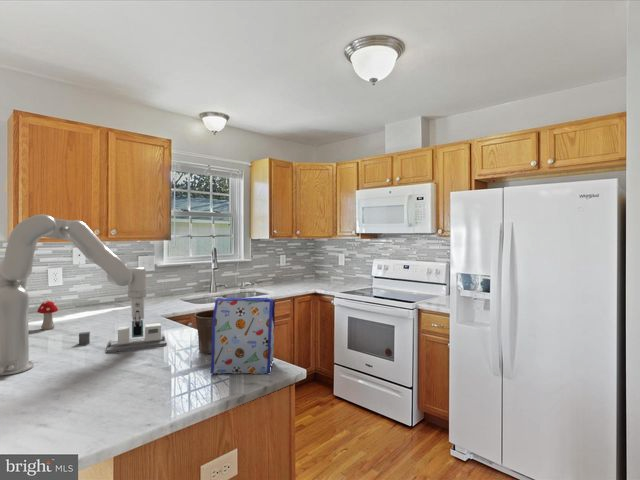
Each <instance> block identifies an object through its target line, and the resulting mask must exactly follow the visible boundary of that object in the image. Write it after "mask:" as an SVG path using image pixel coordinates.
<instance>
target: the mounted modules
mask: <svg viewBox="0 0 640 480" xmlns="http://www.w3.org/2000/svg"><path fill="white" fill-rule="evenodd" d="M161 336H162V324H161V323H160V322H159V323H158V322H157V323H146V324H144V338H145V341H152V340H161ZM129 340H130V325H126V326H118V328H117V341H118V344H126V343H129Z"/></svg>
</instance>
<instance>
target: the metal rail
mask: <svg viewBox="0 0 640 480" xmlns="http://www.w3.org/2000/svg"><path fill="white" fill-rule="evenodd" d="M161 336H162V337H161V340H152V341H145V339H140V340H131V341H129V343H126V344H118V342H113V343H111V342H112V340H108V342H107V345H108V347H111V346H120V345H128V344H137V343H145V342H154V341H162V340H165V339H166V337H165V334H161Z"/></svg>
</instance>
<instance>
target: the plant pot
mask: <svg viewBox="0 0 640 480" xmlns="http://www.w3.org/2000/svg"><path fill="white" fill-rule="evenodd" d="M213 312H214V309H211V310H204V311H199V312H195V314H194V317H195V323H196V326H197V327H196V328H197V339H198V350H199V353H201V354H205V355H209V354H212V324H213Z"/></svg>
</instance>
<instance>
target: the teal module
mask: <svg viewBox="0 0 640 480" xmlns="http://www.w3.org/2000/svg"><path fill="white" fill-rule="evenodd" d="M135 322H136V321H135ZM135 325H136V324H135ZM135 327H136V326H135ZM141 330H142V334H141V335H137V336H134V320H131V339H135V338H144V319H141Z"/></svg>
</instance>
